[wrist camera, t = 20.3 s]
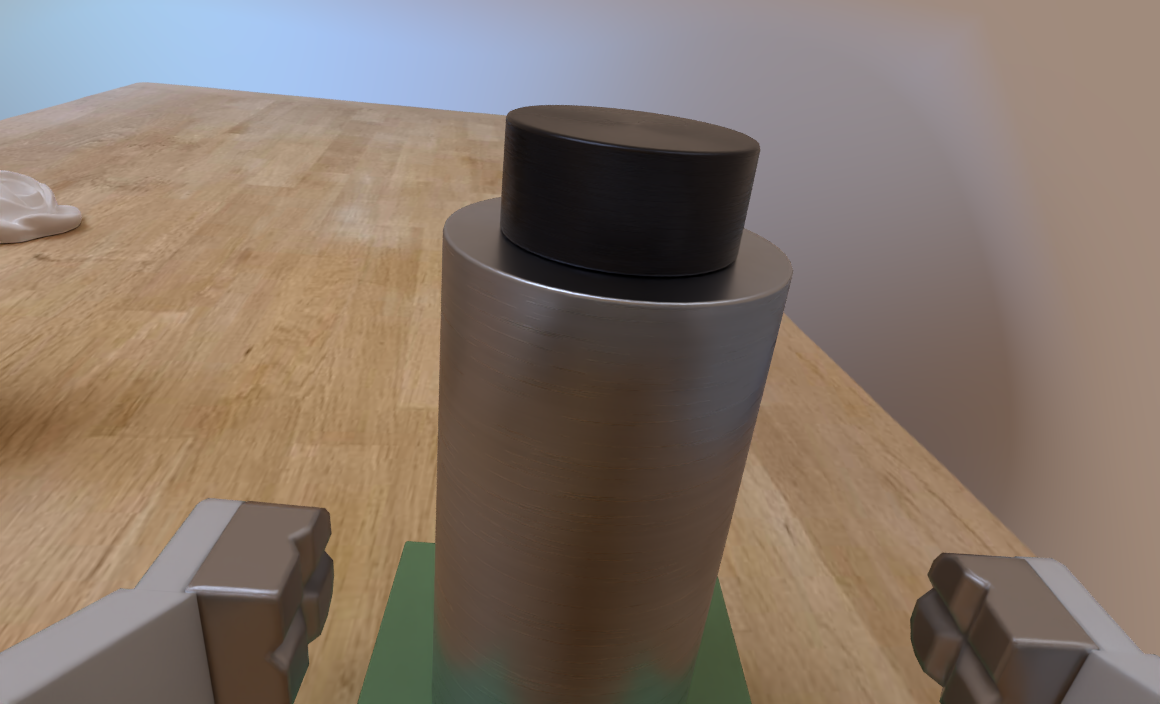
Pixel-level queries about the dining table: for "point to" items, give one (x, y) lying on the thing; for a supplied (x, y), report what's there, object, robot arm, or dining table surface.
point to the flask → (595, 405)
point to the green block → (405, 643)
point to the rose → (31, 210)
